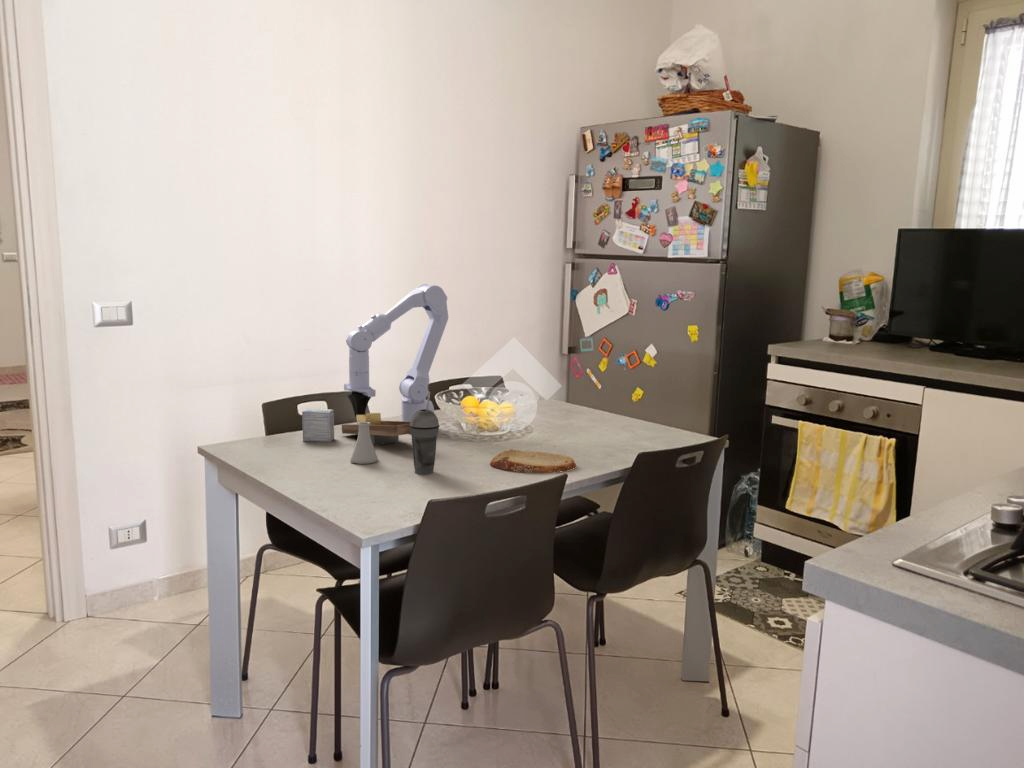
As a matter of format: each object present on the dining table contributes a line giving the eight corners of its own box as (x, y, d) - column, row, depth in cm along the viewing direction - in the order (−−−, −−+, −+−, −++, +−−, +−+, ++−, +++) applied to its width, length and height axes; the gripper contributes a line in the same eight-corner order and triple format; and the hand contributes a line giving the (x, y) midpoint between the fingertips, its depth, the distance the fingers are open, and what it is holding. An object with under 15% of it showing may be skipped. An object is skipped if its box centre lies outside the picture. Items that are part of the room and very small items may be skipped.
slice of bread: (582, 469, 203) (583, 454, 203) (531, 481, 192) (531, 465, 191) (533, 455, 217) (534, 441, 216) (482, 465, 205) (483, 451, 204)
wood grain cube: (372, 426, 235) (371, 412, 234) (381, 426, 231) (380, 412, 231) (357, 428, 231) (356, 414, 231) (366, 428, 228) (365, 414, 227)
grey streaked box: (334, 439, 229) (334, 409, 228) (329, 442, 225) (329, 412, 224) (307, 437, 230) (307, 408, 229) (302, 441, 226) (301, 411, 224)
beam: (372, 429, 240) (371, 420, 240) (425, 431, 219) (425, 421, 218) (342, 433, 233) (341, 424, 233) (394, 436, 212) (394, 426, 212)
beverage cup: (409, 468, 199) (409, 388, 196) (439, 468, 200) (439, 389, 197) (408, 476, 192) (408, 394, 189) (439, 476, 193) (439, 394, 190)
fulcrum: (394, 440, 229) (394, 430, 229) (398, 441, 228) (398, 431, 227) (370, 444, 224) (370, 434, 223) (374, 445, 222) (374, 435, 222)
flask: (347, 464, 202) (346, 425, 200) (353, 457, 209) (352, 419, 207) (375, 465, 202) (375, 426, 200) (380, 458, 209) (380, 420, 207)
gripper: (334, 369, 235) (335, 415, 238) (360, 376, 225) (360, 423, 227) (355, 368, 240) (356, 412, 242) (381, 374, 229) (381, 420, 231)
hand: (359, 417), depth 235 cm, fingers closed
